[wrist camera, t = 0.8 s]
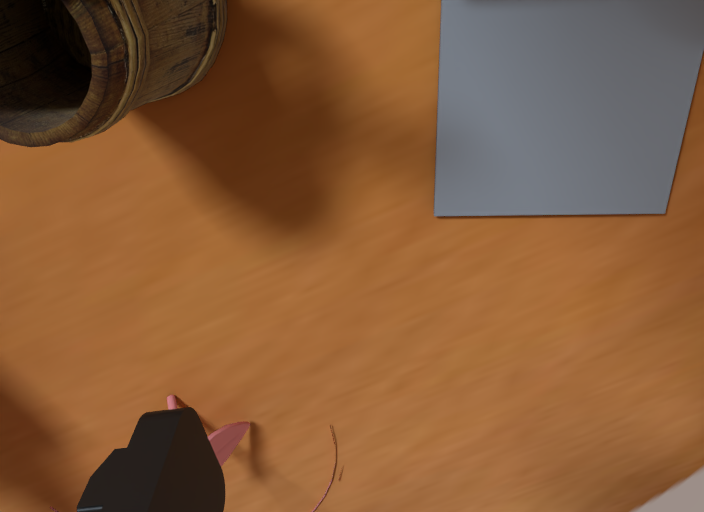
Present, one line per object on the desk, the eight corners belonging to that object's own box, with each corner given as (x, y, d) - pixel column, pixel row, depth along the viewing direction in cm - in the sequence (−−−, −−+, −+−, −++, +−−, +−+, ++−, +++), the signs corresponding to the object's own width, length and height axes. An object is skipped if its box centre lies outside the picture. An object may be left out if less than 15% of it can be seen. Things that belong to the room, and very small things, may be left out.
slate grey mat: (442, -30, 29) (443, -29, 29) (719, -38, 28) (724, -37, 28) (433, 212, 35) (434, 216, 35) (662, 210, 34) (665, 213, 34)
